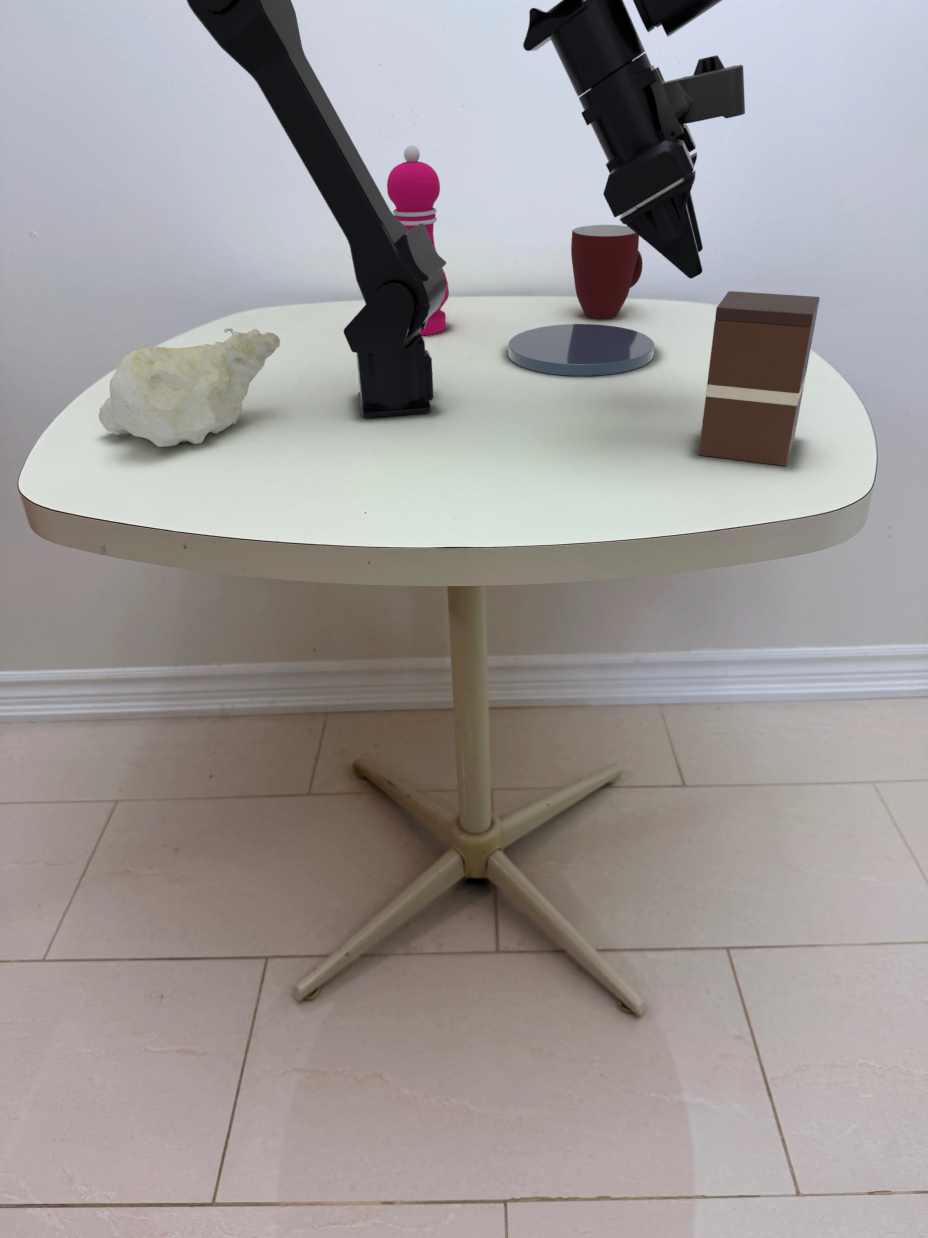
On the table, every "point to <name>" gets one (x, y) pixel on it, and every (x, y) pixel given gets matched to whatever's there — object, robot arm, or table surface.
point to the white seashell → (184, 388)
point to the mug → (604, 267)
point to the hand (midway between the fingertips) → (697, 263)
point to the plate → (581, 349)
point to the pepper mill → (417, 210)
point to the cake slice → (757, 376)
